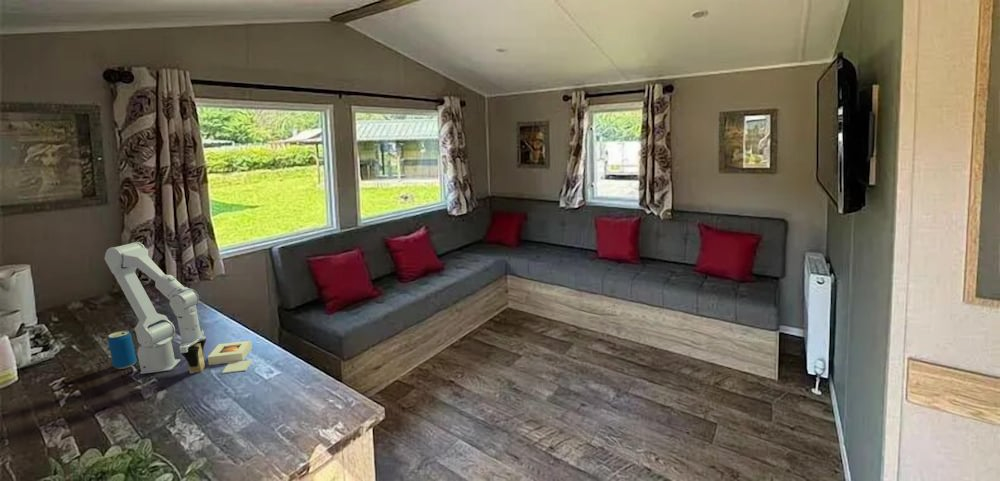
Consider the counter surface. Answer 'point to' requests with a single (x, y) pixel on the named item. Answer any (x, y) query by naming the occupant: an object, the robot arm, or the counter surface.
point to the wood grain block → (200, 360)
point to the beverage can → (122, 349)
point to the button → (230, 349)
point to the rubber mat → (237, 366)
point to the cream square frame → (229, 353)
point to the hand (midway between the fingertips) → (196, 363)
